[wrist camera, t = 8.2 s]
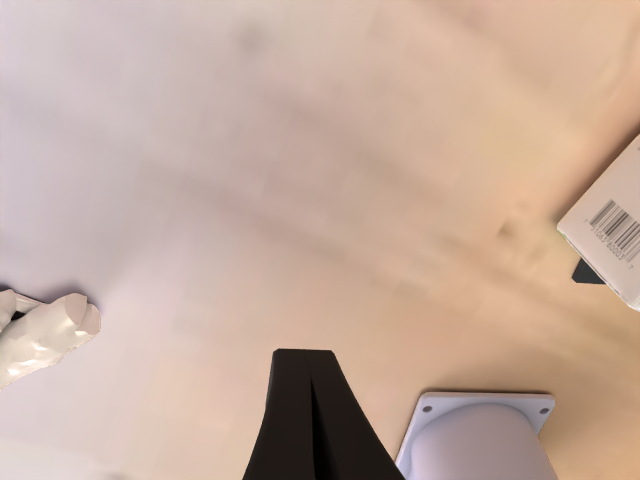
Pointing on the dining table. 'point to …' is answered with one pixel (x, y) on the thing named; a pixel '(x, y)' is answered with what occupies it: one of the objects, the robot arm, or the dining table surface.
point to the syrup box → (611, 225)
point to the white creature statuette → (42, 332)
